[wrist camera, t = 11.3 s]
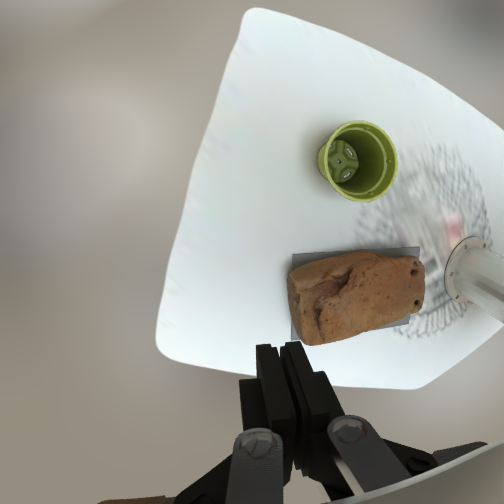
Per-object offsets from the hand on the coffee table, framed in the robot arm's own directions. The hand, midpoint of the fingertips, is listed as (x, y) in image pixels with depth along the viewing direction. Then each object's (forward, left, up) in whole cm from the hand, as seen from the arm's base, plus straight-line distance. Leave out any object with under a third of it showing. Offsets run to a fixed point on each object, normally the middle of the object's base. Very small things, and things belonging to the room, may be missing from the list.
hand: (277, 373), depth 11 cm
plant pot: (-14, -8, -32) cm, 36 cm away
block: (-7, +12, -28) cm, 31 cm away
